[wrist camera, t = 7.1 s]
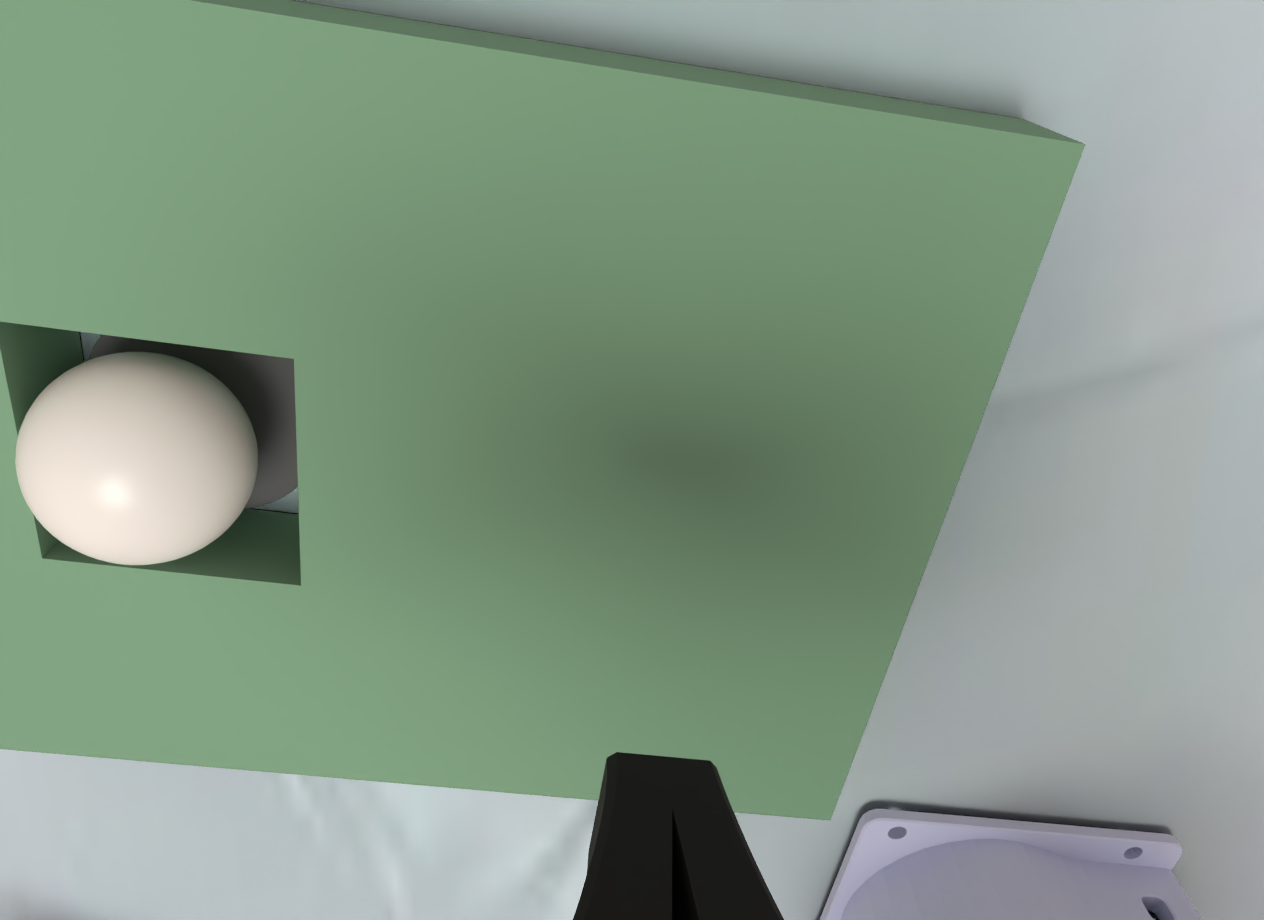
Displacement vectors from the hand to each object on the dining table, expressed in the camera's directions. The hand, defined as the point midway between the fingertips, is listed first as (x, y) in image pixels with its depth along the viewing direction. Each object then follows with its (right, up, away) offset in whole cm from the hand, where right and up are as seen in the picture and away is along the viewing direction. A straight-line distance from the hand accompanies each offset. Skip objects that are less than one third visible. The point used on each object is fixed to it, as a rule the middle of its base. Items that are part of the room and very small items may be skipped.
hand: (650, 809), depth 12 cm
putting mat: (-4, +5, +8) cm, 10 cm away
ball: (-9, +5, +5) cm, 12 cm away
